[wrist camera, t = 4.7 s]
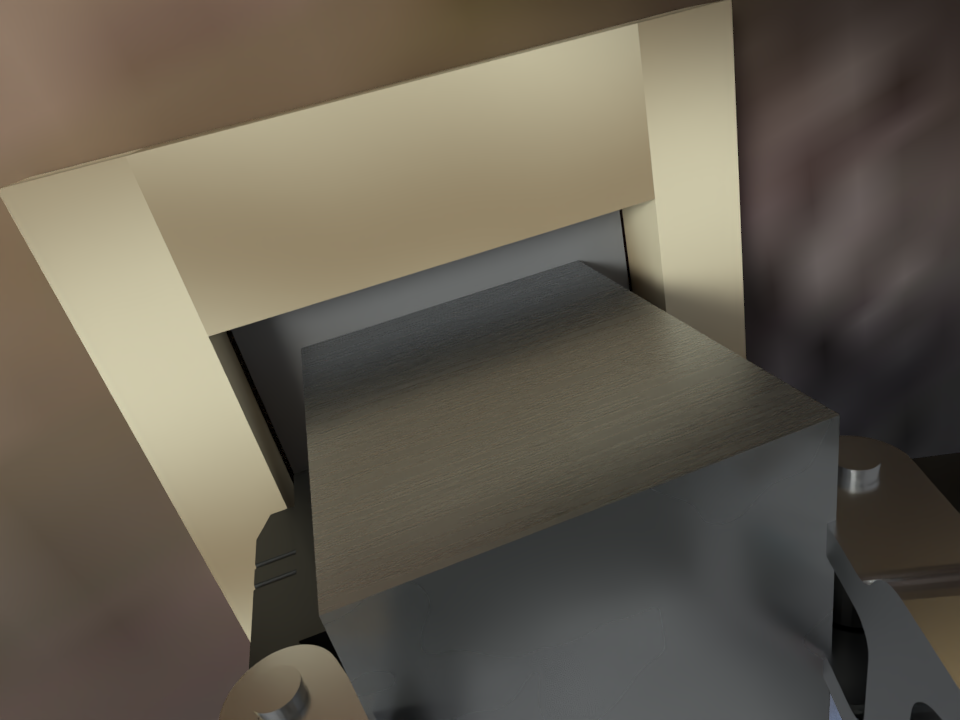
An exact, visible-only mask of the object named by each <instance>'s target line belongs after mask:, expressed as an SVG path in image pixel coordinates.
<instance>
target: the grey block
mask: <svg viewBox="0 0 960 720" xmlns="http://www.w3.org/2000/svg"><path fill="white" fill-rule="evenodd" d="M301 359H302V373H303V388H304V403H305V417H306V432H307V447H308V461H309V476H310V491H311V505H312V520H313V535H314V549H315V564H316V579H317V593H318V608H319V617H320V619H321V621H322V623H323V625H324V627H325V629H326V632H327V634H328V636H329V638H330V640H331V642H332V644H333V646H334V648H335V650H336V653H337V655H338V657H339V659H340V661H341V663H342V665H343V667H344V669H345V671H346V673H347V676H348V678H349V680H350V682H351V684H352V686H353V688H354V690H355V692H356V694H357V696H358V699H359V701H360V703H361V705H362V707H363V709H364V711H365V713H366V715H367V714H370V713H373V715H374V716H375V718H376V719H377V720H829V706H830V691H829V689H828V687H827V684H826V682H825V680H824V678H823V651H824V650H827V649H829V648H831V647H832V622H833V594H834V569H833V567H832V566H831V564H830V562H829V560H828V558H827V556H826V542H827V523H829V522H832V521H834V520H836V510H837V481H838V453H839V425H840V415H839V414H837V413H836V412H834V411H832V410H831V409H829V408H827V407H826V406H824V405H822V404H821V403H819V402H817V401H815V400H814V399H812V398H810V397H809V396H807V395H805V394H804V393H802V392H800V391H799V390H797V389H795V388H793V387H792V386H790V385H788V384H787V383H785V382H783V381H782V380H780V379H778V378H777V377H775V376H773V375H771V374H770V373H768V372H766V371H765V370H763V369H761V368H760V367H758V366H756V365H755V364H753V363H751V362H749V361H748V360H746V359H744V358H743V357H741V356H739V355H738V354H736V353H734V352H733V351H731V350H729V349H727V348H726V347H724V346H722V345H721V344H719V343H717V342H716V341H714V340H712V339H711V338H709V337H707V336H705V335H704V334H702V333H700V332H699V331H697V330H695V329H694V328H692V327H690V326H689V325H687V324H685V323H683V322H682V321H680V320H678V319H677V318H675V317H673V316H672V315H670V314H668V313H667V312H665V311H663V310H661V309H660V308H658V307H656V306H655V305H653V304H651V303H650V302H648V301H646V300H645V299H643V298H641V297H639V296H638V295H636V294H634V293H633V292H631V291H629V290H628V289H626V288H624V287H622V286H621V285H619V284H617V283H616V282H614V281H612V280H611V279H609V278H607V277H606V276H604V275H602V274H600V273H599V272H597V271H595V270H594V269H592V268H590V267H589V266H587V265H585V264H584V263H582V262H580V261H578V260H577V261H574V262H571V263H568V264H564V265H561V266H558V267H555V268H552V269H549V270H546V271H542V272H539V273H536V274H533V275H530V276H527V277H524V278H520V279H517V280H514V281H511V282H508V283H505V284H502V285H498V286H495V287H492V288H489V289H486V290H483V291H480V292H476V293H473V294H470V295H467V296H464V297H461V298H458V299H454V300H451V301H448V302H445V303H442V304H439V305H436V306H432V307H429V308H426V309H423V310H420V311H417V312H414V313H410V314H407V315H404V316H401V317H398V318H395V319H392V320H388V321H385V322H382V323H379V324H376V325H373V326H370V327H366V328H363V329H360V330H357V331H354V332H351V333H348V334H344V335H341V336H338V337H335V338H332V339H329V340H326V341H322V342H319V343H316V344H313V345H310V346H307V347H304V348H301Z"/></svg>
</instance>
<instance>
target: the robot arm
mask: <svg viewBox="0 0 960 720" xmlns="http://www.w3.org/2000/svg"><path fill="white" fill-rule="evenodd" d="M826 556H827V558H828V560H829V562H830V564H831V566H832V567H833V569H834V594H833V622H832V647H831V648H829V649H827V650H824V651H823V678H824V680H825V682H826V684H827V687H828V689H829V691H830V693H831V696H832V698H833V700H834V702H835V705H836V707H837V709H838V711H839V714H840V716H841V718H842V720H960V453H953V454H945V455H938V456H930V457H922V458H914V459H911V458H910V457H909V456H908V455H907V454H906V453H904V452H903V451H901V450H900V449H898V448H896V447H894V446H892V445H890V444H887V443H885V442H882V441H879V440H875V439H871V438H866V437H860V436H839V453H838V481H837V510H836V520H834V521H832V522H829V523H827V542H826ZM255 566H256V569H255V573H254V587H255V590H253V608H252V626H251V643H250V661H249V670H248V671H247V672H246V673H245V674H244V675H243V676H242V677H241V678H240V679H239V681H238V682H237V683H236V684H235V685H234V687H233V688H232V690H231V691H230V693H229V694H228V696H227V698H226V700H225V702H224V704H223V707H222V710H221V712H220V717H219V720H377V719H376V718H375V716H374V715H373V713H370V714H367V715H366V713H365V711H364V709H363V707H362V705H361V703H360V701H359V699H358V696H357V694H356V692H355V690H354V688H353V686H352V684H351V682H350V680H349V678H348V676H347V673H346V671H345V669H344V667H343V665H342V663H341V661H340V659H339V657H338V655H337V653H336V650H335V648H334V646H333V644H332V642H331V640H330V638H329V636H328V634H327V632H326V629H325V627H324V625H323V623H322V621H321V619H320V617H319V608H318V593H317V579H316V564H315V549H314V535H313V520H312V505H311V491H310V476H309V469H306V470H303V471H301V472H298V473H295V474H294V506H293V507H290V508H287V509H285V510H282V511H279V512H276V513H273V514H271V515H270V516H269V518H268V520H267V522H266V524H265V525H264V527H263V529H262V531H261V533H260V534H259V536H258V538H257V540H256V555H255Z"/></svg>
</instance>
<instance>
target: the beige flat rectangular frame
mask: <svg viewBox="0 0 960 720" xmlns="http://www.w3.org/2000/svg"><path fill="white" fill-rule="evenodd" d="M0 196H1V198H2V200H3V202H4V204H5V205H6V207H7V209H8V211H9V213H10V214H11V216H12V218H13V220H14V221H15V223H16V225H17V227H18V229H19V230H20V232H21V234H22V236H23V237H24V239H25V241H26V243H27V245H28V246H29V248H30V250H31V252H32V254H33V255H34V257H35V259H36V261H37V262H38V264H39V266H40V268H41V270H42V271H43V273H44V275H45V277H46V278H47V280H48V282H49V284H50V286H51V287H52V289H53V291H54V293H55V295H56V296H57V298H58V300H59V302H60V303H61V305H62V307H63V309H64V311H65V312H66V314H67V316H68V318H69V319H70V321H71V323H72V325H73V327H74V328H75V330H76V332H77V334H78V336H79V337H80V339H81V341H82V343H83V344H84V346H85V348H86V350H87V352H88V353H89V355H90V357H91V359H92V360H93V362H94V364H95V366H96V368H97V369H98V371H99V373H100V375H101V377H102V378H103V380H104V382H105V384H106V385H107V387H108V389H109V391H110V393H111V394H112V396H113V398H114V400H115V401H116V403H117V405H118V407H119V409H120V410H121V412H122V414H123V416H124V418H125V419H126V421H127V423H128V425H129V426H130V428H131V430H132V432H133V434H134V435H135V437H136V439H137V441H138V442H139V444H140V446H141V448H142V450H143V451H144V453H145V455H146V457H147V459H148V460H149V462H150V464H151V466H152V467H153V469H154V471H155V473H156V475H157V476H158V478H159V480H160V482H161V483H162V485H163V487H164V489H165V491H166V492H167V494H168V496H169V498H170V500H171V501H172V503H173V505H174V507H175V508H176V510H177V512H178V514H179V516H180V517H181V519H182V521H183V523H184V524H185V526H186V528H187V530H188V532H189V533H190V535H191V537H192V539H193V541H194V542H195V544H196V546H197V548H198V549H199V551H200V553H201V555H202V557H203V558H204V560H205V562H206V564H207V565H208V567H209V569H210V571H211V573H212V574H213V576H214V578H215V580H216V581H217V583H218V585H219V587H220V589H221V590H222V592H223V594H224V596H225V598H226V599H227V601H228V603H229V605H230V606H231V608H232V610H233V612H234V614H235V615H236V617H237V619H238V621H239V622H240V624H241V626H242V628H243V630H244V631H245V633H246V635H247V637H248V639H249V640H250V642H251V626H252V608H253V590H255V587H254V573H255V569H256V566H255V555H256V540H257V538H258V536H259V534H260V533H261V531H262V529H263V527H264V525H265V524H266V522H267V520H268V518H269V516H270V515H271V514H273V513H276V512H279V511H282V510H285V509H287V508H290V507H293V506H294V484H293V482H292V479H291V477H290V475H289V473H288V470H287V468H286V466H285V464H284V461H283V459H282V457H281V455H280V452H279V450H278V448H277V446H276V443H275V441H274V439H273V437H272V434H271V432H270V430H269V428H268V425H267V423H266V421H265V419H264V416H263V414H262V412H261V410H260V407H259V405H258V403H257V401H256V398H255V396H254V394H253V392H252V389H251V387H250V385H249V383H248V380H247V378H246V376H245V374H244V371H243V369H242V367H241V365H240V362H239V360H238V358H237V356H236V353H235V351H234V349H233V347H232V344H231V342H230V340H229V338H228V335H227V333H226V331H228V330H231V332H232V334H233V336H234V338H235V341H236V343H237V345H238V347H239V350H240V352H241V354H242V357H243V359H244V361H245V363H246V366H247V368H248V370H249V372H250V375H251V377H252V379H253V381H254V384H255V386H256V388H257V391H258V393H259V395H260V397H261V400H262V402H263V404H264V406H265V409H266V411H267V413H268V416H269V418H270V420H271V422H272V425H273V427H274V429H275V431H276V434H277V436H278V438H279V441H280V443H281V445H282V447H283V450H284V452H285V454H286V456H287V459H288V461H289V463H290V466H291V468H292V470H293V472H294V474H295V473H298V472H301V471H303V470H306V469H309V461H308V447H307V432H306V417H305V403H304V388H303V373H302V359H301V348H304V347H307V346H310V345H313V344H316V343H319V342H322V341H326V340H329V339H332V338H335V337H338V336H341V335H344V334H348V333H351V332H354V331H357V330H360V329H363V328H366V327H370V326H373V325H376V324H379V323H382V322H385V321H388V320H392V319H395V318H398V317H401V316H404V315H407V314H410V313H414V312H417V311H420V310H423V309H426V308H429V307H432V306H436V305H439V304H442V303H445V302H448V301H451V300H454V299H458V298H461V297H464V296H467V295H470V294H473V293H476V292H480V291H483V290H486V289H489V288H492V287H495V286H498V285H502V284H505V283H508V282H511V281H514V280H517V279H520V278H524V277H527V276H530V275H533V274H536V273H539V272H542V271H546V270H549V269H552V268H555V267H558V266H561V265H564V264H568V263H571V262H574V261H577V260H578V261H580V262H582V263H584V264H585V265H587V266H589V267H590V268H592V269H594V270H595V271H597V272H599V273H600V274H602V275H604V276H606V277H607V278H609V279H611V280H612V281H614V282H616V283H617V284H619V285H621V286H622V287H624V288H626V289H628V290H629V282H628V274H627V266H626V258H625V251H624V243H623V235H622V227H621V219H620V211H619V210H620V209H622V213H623V221H624V229H625V237H626V245H627V253H628V261H629V269H630V277H631V285H632V292H633V293H634V294H636V295H638V296H639V297H641V298H643V299H645V300H646V301H648V302H650V303H651V304H653V305H655V306H656V307H658V308H660V309H661V310H663V311H665V312H667V313H668V314H670V315H672V316H673V317H675V318H677V319H678V320H680V321H682V322H683V323H685V324H687V325H689V326H690V327H692V328H694V329H695V330H697V331H699V332H700V333H702V334H704V335H705V336H707V337H709V338H711V339H712V340H714V341H716V342H717V343H719V344H721V345H722V346H724V347H726V348H727V349H729V350H731V351H733V352H734V353H736V354H738V355H739V356H741V357H743V358H744V359H746V344H745V319H744V295H743V270H742V245H741V220H740V196H739V171H738V146H737V122H736V97H735V72H734V48H733V23H732V0H723V1H717V2H712V3H707V4H702V5H697V6H692V7H687V8H682V9H678V10H675V11H671V12H667V13H663V14H659V15H655V16H651V17H647V18H644V19H640V20H636V21H632V22H628V23H624V24H620V25H617V26H613V27H609V28H605V29H601V30H597V31H593V32H589V33H586V34H582V35H578V36H574V37H570V38H566V39H562V40H559V41H555V42H551V43H547V44H543V45H539V46H535V47H532V48H528V49H524V50H520V51H516V52H512V53H508V54H504V55H501V56H497V57H493V58H489V59H485V60H481V61H477V62H474V63H470V64H466V65H462V66H458V67H454V68H450V69H447V70H443V71H439V72H435V73H431V74H427V75H423V76H419V77H416V78H412V79H408V80H404V81H400V82H396V83H392V84H389V85H385V86H381V87H377V88H373V89H369V90H365V91H361V92H358V93H354V94H350V95H346V96H342V97H338V98H334V99H331V100H327V101H323V102H319V103H315V104H311V105H307V106H304V107H300V108H296V109H292V110H288V111H284V112H280V113H276V114H273V115H269V116H265V117H261V118H257V119H253V120H249V121H246V122H242V123H238V124H234V125H230V126H226V127H222V128H218V129H215V130H211V131H207V132H203V133H199V134H195V135H191V136H188V137H184V138H180V139H176V140H172V141H168V142H164V143H161V144H157V145H153V146H149V147H145V148H141V149H137V150H133V151H130V152H126V153H122V154H118V155H114V156H110V157H106V158H103V159H99V160H95V161H91V162H87V163H83V164H79V165H75V166H72V167H68V168H64V169H60V170H56V171H52V172H48V173H45V174H41V175H37V176H33V177H30V178H27V179H24V180H22V181H19V182H16V183H13V184H11V185H8V186H5V187H2V188H0ZM629 291H630V290H629Z"/></svg>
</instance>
